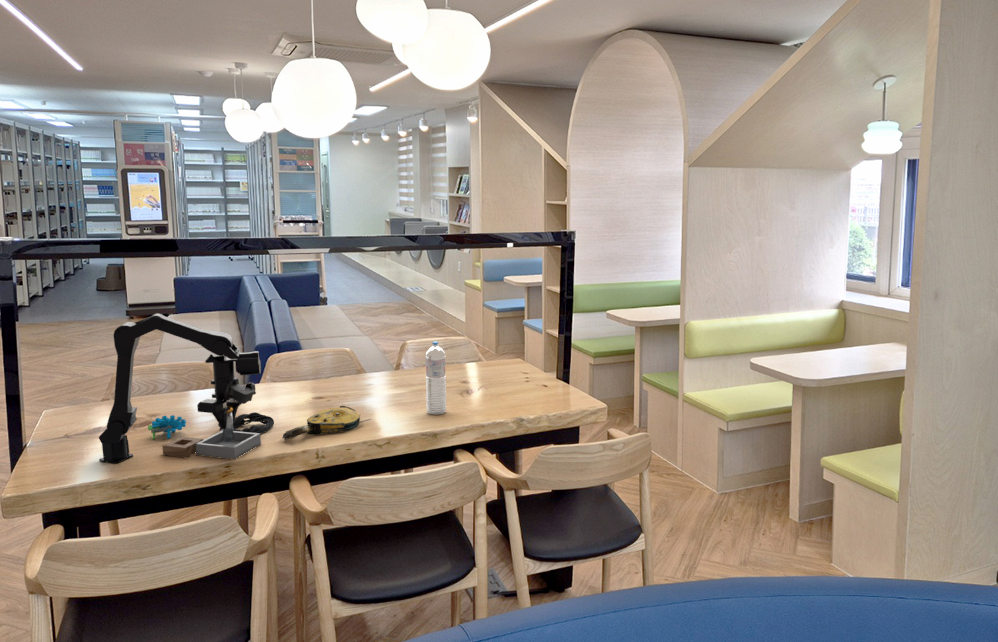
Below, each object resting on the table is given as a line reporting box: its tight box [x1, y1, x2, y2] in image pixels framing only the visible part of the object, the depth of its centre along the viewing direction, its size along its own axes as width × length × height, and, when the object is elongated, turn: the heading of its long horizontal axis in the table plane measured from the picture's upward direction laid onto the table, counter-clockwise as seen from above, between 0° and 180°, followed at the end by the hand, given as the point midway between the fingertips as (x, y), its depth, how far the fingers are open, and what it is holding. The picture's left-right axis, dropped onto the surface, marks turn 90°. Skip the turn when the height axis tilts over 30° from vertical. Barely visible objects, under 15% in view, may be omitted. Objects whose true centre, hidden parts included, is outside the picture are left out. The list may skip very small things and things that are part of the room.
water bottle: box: [424, 341, 447, 416], centre depth 254 cm, size 7×7×25 cm
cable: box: [217, 412, 275, 435], centre depth 238 cm, size 17×14×4 cm
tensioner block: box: [162, 436, 205, 458], centre depth 218 cm, size 8×8×3 cm
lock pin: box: [222, 406, 234, 442], centre depth 219 cm, size 4×4×10 cm
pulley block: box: [282, 405, 372, 440], centre depth 238 cm, size 14×6×30 cm
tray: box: [195, 430, 262, 460], centre depth 220 cm, size 13×13×4 cm
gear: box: [147, 414, 187, 440], centre depth 232 cm, size 11×6×10 cm
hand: (227, 427), depth 219 cm, fingers closed on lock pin, 3 cm apart
